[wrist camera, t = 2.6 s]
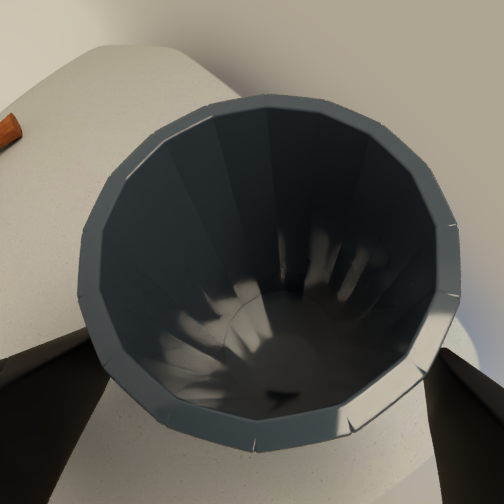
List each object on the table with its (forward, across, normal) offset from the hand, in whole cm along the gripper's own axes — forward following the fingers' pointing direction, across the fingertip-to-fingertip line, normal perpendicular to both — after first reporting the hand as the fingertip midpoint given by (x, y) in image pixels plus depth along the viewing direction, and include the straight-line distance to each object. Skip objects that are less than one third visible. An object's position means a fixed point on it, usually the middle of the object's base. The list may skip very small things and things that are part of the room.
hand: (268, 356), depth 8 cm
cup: (+7, 0, +5) cm, 9 cm away
